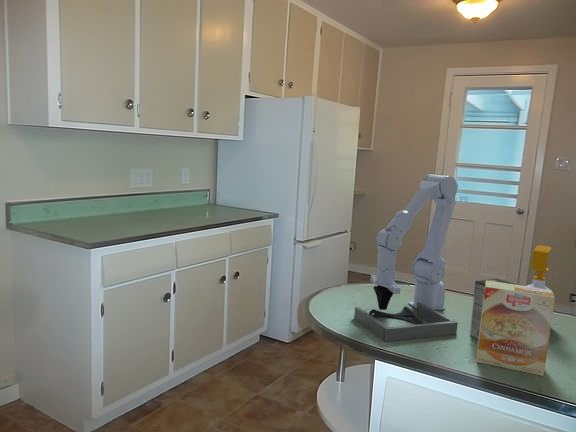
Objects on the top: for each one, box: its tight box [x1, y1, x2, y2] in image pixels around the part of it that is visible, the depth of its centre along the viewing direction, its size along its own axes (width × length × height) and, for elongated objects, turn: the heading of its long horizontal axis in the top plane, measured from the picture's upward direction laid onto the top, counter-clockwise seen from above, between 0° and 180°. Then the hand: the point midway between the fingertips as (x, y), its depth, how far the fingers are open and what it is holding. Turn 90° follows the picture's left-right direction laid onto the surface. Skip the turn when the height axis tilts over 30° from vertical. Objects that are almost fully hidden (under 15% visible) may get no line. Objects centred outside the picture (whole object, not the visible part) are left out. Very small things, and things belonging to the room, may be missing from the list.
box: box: [353, 302, 459, 343], centre depth 135 cm, size 23×18×4 cm
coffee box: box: [469, 278, 517, 339], centre depth 129 cm, size 9×6×16 cm
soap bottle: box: [526, 244, 555, 296], centre depth 140 cm, size 9×9×25 cm
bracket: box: [368, 305, 425, 325], centre depth 142 cm, size 14×15×3 cm
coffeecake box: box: [476, 279, 556, 377], centre depth 112 cm, size 15×7×20 cm, turn 66°
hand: (382, 309), depth 146 cm, fingers closed
